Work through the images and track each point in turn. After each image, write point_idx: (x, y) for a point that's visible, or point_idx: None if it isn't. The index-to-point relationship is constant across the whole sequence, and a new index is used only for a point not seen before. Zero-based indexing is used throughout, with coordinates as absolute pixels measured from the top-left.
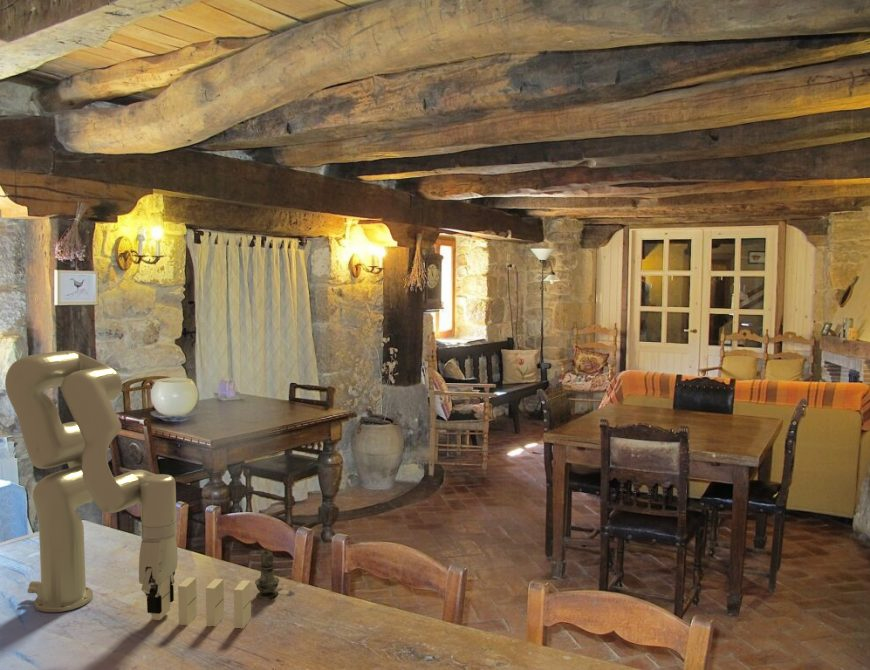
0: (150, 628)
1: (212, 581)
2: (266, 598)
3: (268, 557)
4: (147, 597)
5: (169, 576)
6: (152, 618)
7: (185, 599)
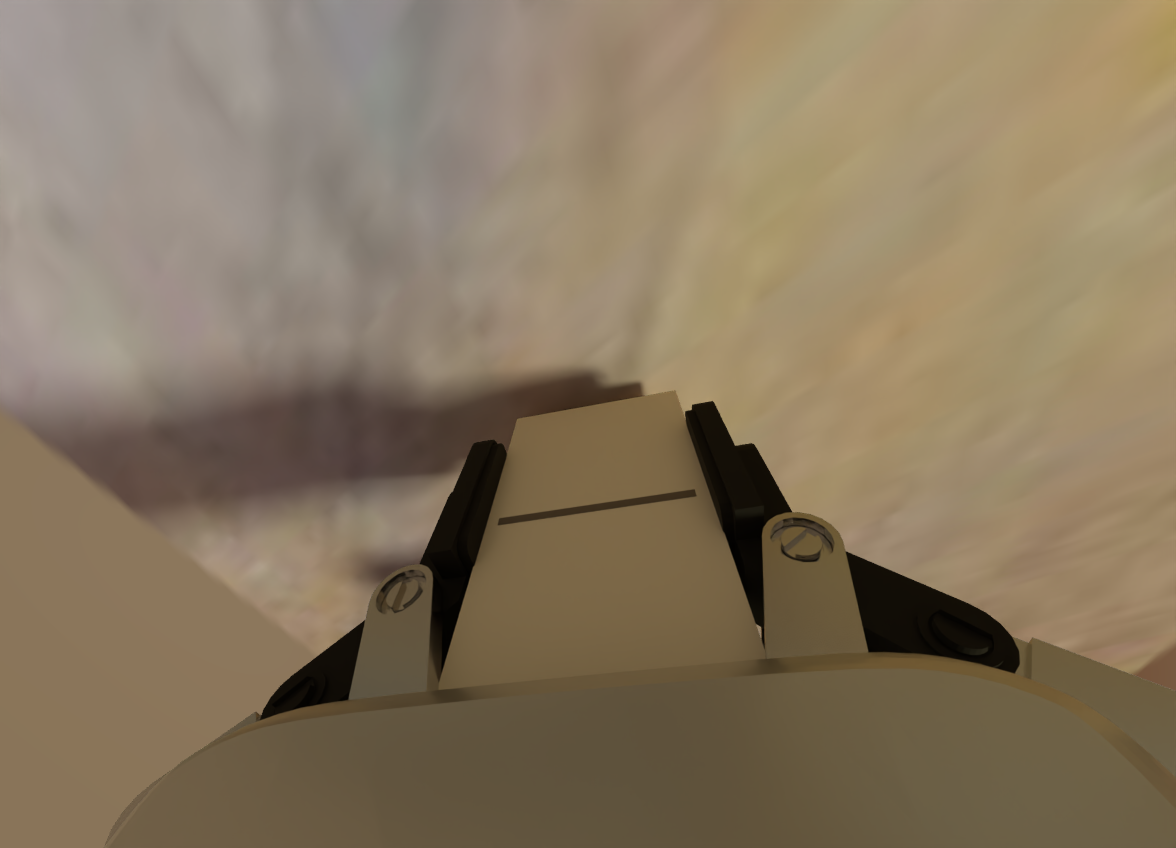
0: (462, 440)
1: None
2: None
3: None
4: (437, 541)
5: None
6: (518, 426)
7: None
